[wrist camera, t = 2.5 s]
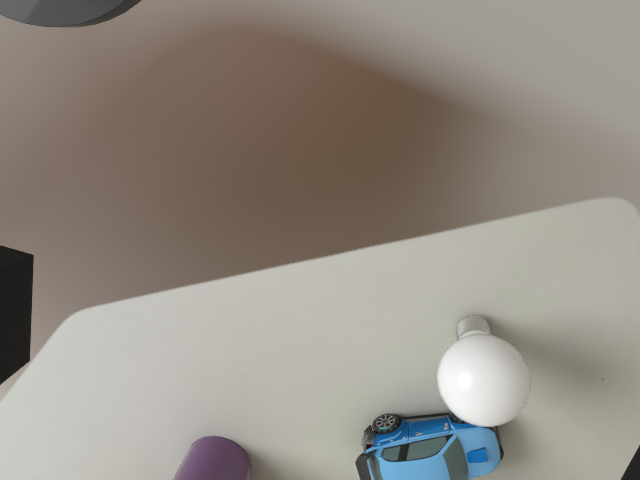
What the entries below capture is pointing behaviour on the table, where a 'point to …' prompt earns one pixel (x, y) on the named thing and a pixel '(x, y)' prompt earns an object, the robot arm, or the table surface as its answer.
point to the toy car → (428, 449)
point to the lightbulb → (483, 376)
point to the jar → (214, 461)
